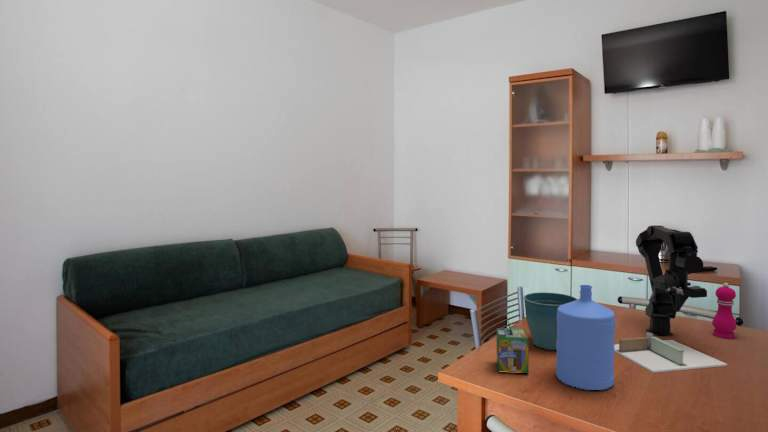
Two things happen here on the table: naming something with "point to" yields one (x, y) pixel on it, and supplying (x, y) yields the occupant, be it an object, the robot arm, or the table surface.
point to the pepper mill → (724, 313)
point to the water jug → (585, 343)
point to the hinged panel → (667, 350)
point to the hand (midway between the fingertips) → (676, 311)
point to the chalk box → (512, 350)
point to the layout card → (655, 362)
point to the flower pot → (544, 317)
